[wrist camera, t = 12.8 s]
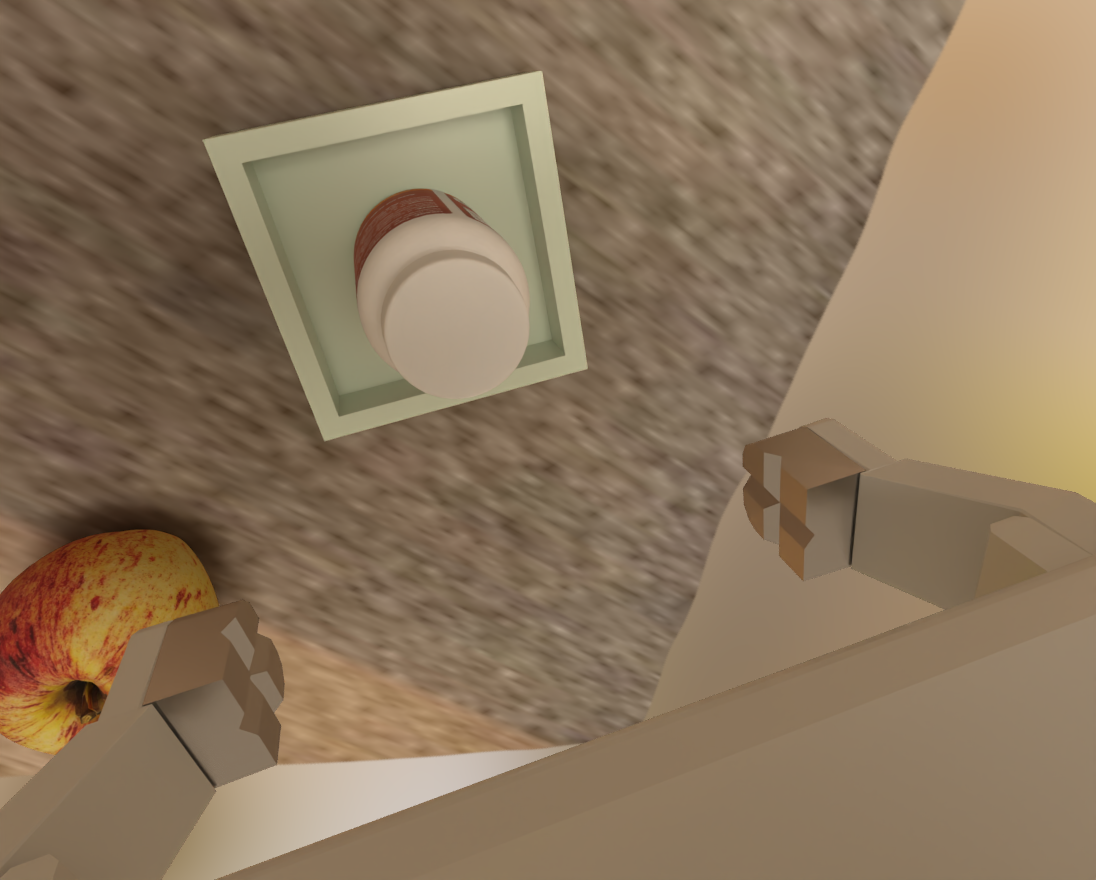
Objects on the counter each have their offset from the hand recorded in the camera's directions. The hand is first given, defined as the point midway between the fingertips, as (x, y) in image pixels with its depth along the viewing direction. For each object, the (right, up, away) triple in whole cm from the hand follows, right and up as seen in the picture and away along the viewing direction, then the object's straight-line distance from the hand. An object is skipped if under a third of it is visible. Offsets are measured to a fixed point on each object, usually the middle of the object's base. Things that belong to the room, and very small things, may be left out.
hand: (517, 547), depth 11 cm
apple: (-21, -5, +24) cm, 32 cm away
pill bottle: (-5, +10, +20) cm, 23 cm away
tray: (-6, +10, +20) cm, 23 cm away
